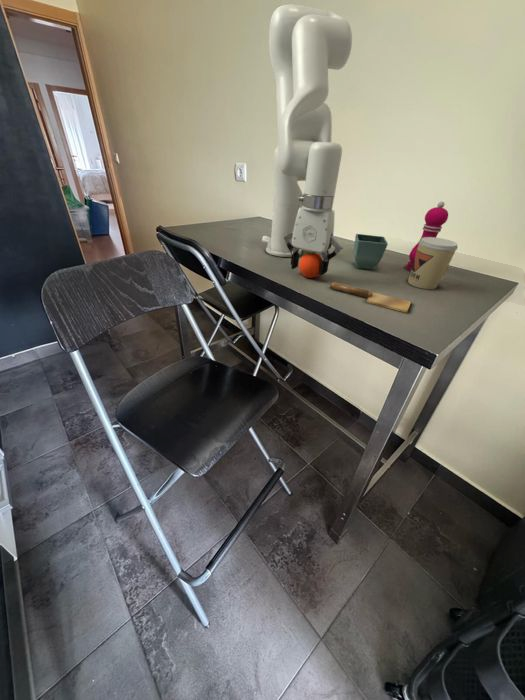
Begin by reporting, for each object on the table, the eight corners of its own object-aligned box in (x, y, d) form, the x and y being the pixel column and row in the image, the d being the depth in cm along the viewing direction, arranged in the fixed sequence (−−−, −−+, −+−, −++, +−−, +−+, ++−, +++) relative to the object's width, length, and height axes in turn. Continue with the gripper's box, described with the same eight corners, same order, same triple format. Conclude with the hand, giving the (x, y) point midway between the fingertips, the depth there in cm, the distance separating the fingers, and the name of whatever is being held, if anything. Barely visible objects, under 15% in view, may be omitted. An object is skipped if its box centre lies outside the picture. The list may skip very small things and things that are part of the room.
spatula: (326, 291, 74) (327, 285, 73) (333, 284, 78) (334, 278, 77) (406, 313, 66) (409, 306, 65) (410, 303, 71) (412, 297, 69)
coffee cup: (400, 277, 86) (414, 235, 79) (430, 279, 86) (447, 237, 79) (412, 289, 78) (429, 244, 72) (446, 291, 79) (466, 247, 72)
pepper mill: (401, 269, 92) (425, 200, 81) (409, 264, 97) (432, 198, 85) (424, 275, 89) (452, 204, 77) (431, 270, 93) (459, 202, 82)
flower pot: (379, 273, 88) (388, 243, 83) (350, 269, 89) (357, 240, 84) (376, 264, 95) (384, 236, 90) (349, 261, 96) (355, 233, 91)
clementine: (291, 278, 81) (293, 252, 77) (297, 270, 86) (300, 246, 82) (318, 283, 79) (323, 257, 75) (323, 275, 84) (327, 250, 80)
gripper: (280, 200, 72) (275, 268, 82) (347, 209, 65) (332, 282, 75) (293, 197, 77) (286, 261, 87) (356, 205, 71) (341, 274, 81)
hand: (308, 270), depth 81 cm, fingers closed on clementine, 8 cm apart
